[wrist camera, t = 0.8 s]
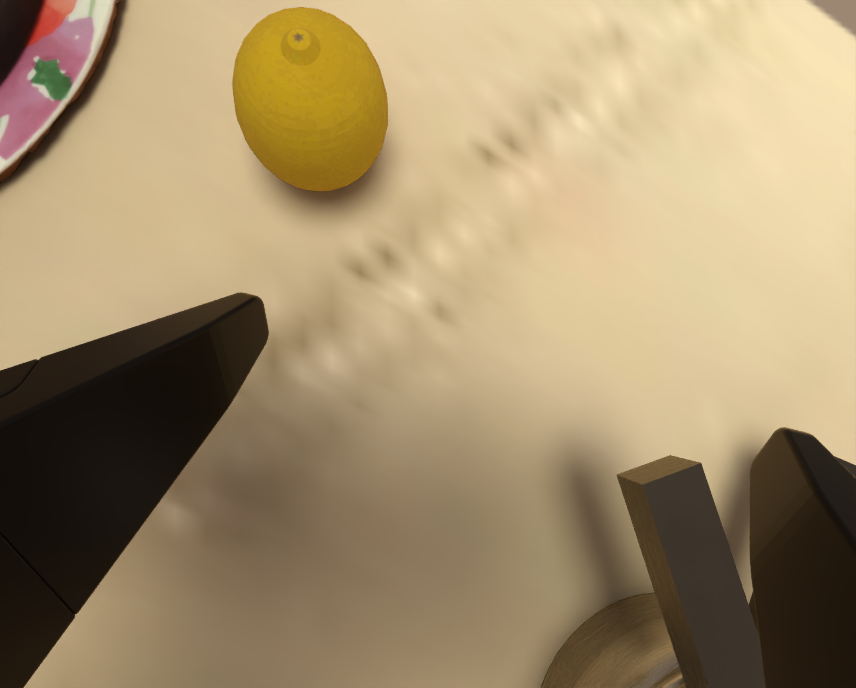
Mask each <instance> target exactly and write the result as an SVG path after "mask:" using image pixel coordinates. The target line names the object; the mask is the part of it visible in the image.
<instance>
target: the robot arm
mask: <svg viewBox="0 0 856 688" xmlns="http://www.w3.org/2000/svg"><path fill="white" fill-rule="evenodd" d="M268 335H269V330H268V324H267V319H266V314H265V309H264V304H263V301H262V300H261V298H259V297H258V296H255V295H251V294H247V293H236V294H233V295H230V296H227V297H224V298H221V299H218V300H215V301H212V302H209V303H206V304H203V305H199V306H196V307H193V308H190V309H187V310H184V311H181V312H178V313H175V314H172V315H169V316H166V317H163V318H160V319H157V320H154V321H151V322H148V323H145V324H142V325H139V326H136V327H132V328H129V329H126V330H123V331H120V332H117V333H114V334H111V335H108V336H105V337H102V338H99V339H96V340H93V341H90V342H87V343H84V344H81V345H78V346H75V347H72V348H68V349H65V350H62V351H59V352H56V353H53V354H50V355H47V356H44V357H41V358H40V359H39V360H37V359H35V360H31V361H28V362H25V363H22V364H19V365H16V366H13V367H10V368H7V369H4V370H1V371H0V688H24V686H25V685H26V683H27V682H28V681H29V679H30V678H31V677H32V675H33V674H34V673H35V671H36V670H37V668H38V667H39V666H40V664H41V663H42V662H43V660H44V659H45V658H46V656H47V655H48V653H49V652H50V651H51V649H52V648H53V647H54V645H55V644H56V643H57V641H58V640H59V638H60V637H61V636H62V634H63V633H64V632H65V630H66V629H67V628H68V626H69V625H70V623H71V622H72V621H73V619H74V618H75V614H77V613H78V612H79V611H80V609H81V608H82V607H83V605H84V604H85V603H86V601H87V600H88V598H89V597H90V596H91V594H92V593H93V592H94V590H95V589H96V588H97V586H98V585H99V583H100V582H101V581H102V579H103V578H104V577H105V575H106V574H107V573H108V571H109V570H110V568H111V567H112V566H113V564H114V563H115V562H116V560H117V559H118V558H119V556H120V555H121V553H122V552H123V551H124V549H125V548H126V547H127V545H128V544H129V543H130V541H131V540H132V538H133V537H134V536H135V534H136V533H137V532H138V530H139V529H140V528H141V526H142V525H143V523H144V522H145V521H146V519H147V518H148V517H149V515H150V514H151V512H152V511H153V510H154V508H155V507H156V506H157V504H158V503H159V502H160V500H161V499H162V497H163V496H164V495H165V493H166V492H167V491H168V489H169V488H170V487H171V485H172V484H173V482H174V481H175V480H176V478H177V477H178V476H179V474H180V473H181V472H182V470H183V469H184V467H185V466H186V465H187V463H188V462H189V461H190V459H191V458H192V457H193V455H194V454H195V452H196V451H197V450H198V448H199V447H200V446H201V444H202V443H203V442H204V440H205V439H206V437H207V436H208V435H209V433H210V432H211V431H212V429H213V428H214V427H215V425H216V424H217V422H218V421H219V420H220V418H221V417H222V416H223V414H224V413H225V411H226V410H227V409H228V407H229V406H230V404H231V403H232V401H233V399H234V398H235V396H236V395H237V393H238V391H239V389H240V388H241V386H242V384H243V382H244V381H245V379H246V377H247V376H248V374H249V372H250V370H251V369H252V367H253V365H254V363H255V362H256V360H257V358H258V357H259V355H260V353H261V351H262V350H263V348H264V346H265V344H266V342H267V340H268ZM750 567H751V578H752V586H753V594H754V602H755V610H756V618H757V626H758V634H759V642H760V650H761V658H762V665H763V673H764V681H765V688H856V478H855V477H854V476H853V475H852V474H851V473H850V472H849V471H848V470H847V469H846V468H845V467H844V466H843V465H842V464H841V463H840V462H839V461H838V460H837V459H836V458H835V457H834V456H833V455H832V454H831V453H830V452H829V451H828V450H827V449H826V448H825V447H824V446H823V445H822V444H821V443H820V442H819V441H818V440H817V439H816V438H815V437H814V436H813V435H811V434H809V433H806V432H802V431H798V430H794V429H790V428H785V427H784V428H779V429H777V430H776V431H775V432H774V433H773V434H772V436H771V437H770V438H769V440H768V441H767V443H766V444H765V445H764V447H763V448H762V449H761V451H760V452H759V454H758V455H757V456H756V458H755V459H754V461H753V463H752V466H751V470H750Z"/></svg>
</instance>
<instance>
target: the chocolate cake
mask: <svg viewBox="0 0 856 688" xmlns="http://www.w3.org/2000/svg"><path fill="white" fill-rule="evenodd" d="M119 1H120V0H0V183H1V182H2V181H4V180H5V179H7V178H8V177H10V176H11V175H12V174H13V173H14V171H15V170H16V168H17V166H18V165H19V163H20V161H21V160H22V158H23V157H24V156H25V155H26V154H27V153H28V152H29V151H32V152H34V151H35V149H36V148H37V147H38V145H39V144H40V142H41V140H42V139H43V137H44V136H45V135H46V134H48V133H49V131H50V128H51V126H52V124H53V123H54V121H55V120H56V119H57V118H58V117H59V116H60V115H61V114H62V113H63V112H64V110H65V109H66V107H67V106H68V105H69V104H70V103H72V102H73V101H74V100H76V99H77V98H78V97H79V95H80V94H81V92H82V90H83V88H84V87H85V85H86V84H87V82H88V80H89V79H90V77H91V76H92V74H93V72H94V71H95V69H96V68H97V66H98V64H99V62H100V59H101V57H102V54H103V52H104V49H105V47H106V45H107V43H108V40H109V38H110V35H111V32H112V28H113V20H114V19H115V17H116V15H117V8H116V3H118V2H119Z"/></svg>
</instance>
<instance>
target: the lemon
mask: <svg viewBox="0 0 856 688" xmlns="http://www.w3.org/2000/svg"><path fill="white" fill-rule="evenodd" d="M233 95H234V103H235V111H236V116H237V120H238V122H239V125H240V127H241V130H242V132H243V134H244V137H245V139H246V142H247V144H248V145H249V147H250V148H251V150H252V151H253V152H254V154H255V155H256V156H257V158H258V159H259V160H260V162H261V163H262V164H263V165H264V166H265V167H266V168H267V169H268V170H270V171H271V172H272V173H273V174H275V175H276V176H277V177H278V178H279V179H281V180H283V181H285V182H287V183H289V184H291V185H293V186H295V187H297V188H301V189H306V190H311V191H331V190H334V189H338V188H341V187H345V186H347V185H349V184H350V183H352V182H354V181H356V180H357V179H359V178H360V177H361V176H362V175H363V174H364V173H365V172H366V171H367V170H368V169H369V168H370V167H371V166H372V164H373V163H374V161H375V159H376V157H377V156H378V154H379V152H380V150H381V148H382V145H383V142H384V138H385V134H386V130H387V125H388V103H387V93H386V90H385V86H384V82H383V79H382V75H381V72H380V69H379V66H378V64H377V62H376V60H375V58H374V56H373V54H372V53H371V51H370V49H369V47H368V46H367V44H366V43H365V41H364V40H363V39H362V38H361V37H360V36H359V35H358V34H357V33H356V31H355V30H354V29H353V28H352V27H351V26H349V25H348V24H346V23H345V22H343V21H342V20H340V19H339V18H337V17H336V16H334V15H332V14H330V13H327V12H324V11H321V10H319V9H313V8H304V7H298V8H289V9H283V10H281V11H278V12H275V13H273V14H270V15H268V16H267V17H266V18H264V19H263V20H261V21H260V22H259V23H257V24H256V25H255V27H254V28H253V29H252V30H251V31H250V33H249V34H248V35H247V36H246V37H245V39H244V40H243V43H242V45H241V47H240V49H239V52H238V54H237V57H236V60H235V67H234V74H233Z"/></svg>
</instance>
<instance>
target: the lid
mask: <svg viewBox="0 0 856 688" xmlns="http://www.w3.org/2000/svg"><path fill="white" fill-rule="evenodd" d="M617 478H618V481H619V484H620V487H621V490H622V493H623V496H624V499H625V502H626V505H627V508H628V511H629V515H630V518H631V521H632V524H633V527H634V530H635V533H636V536H637V539H638V542H639V545H640V548H641V551H642V554H643V557H644V560H645V563H646V567H647V570H648V573H649V576H650V579H651V582H652V585H653V588H654V591H655V594H656V597H657V600H658V603H659V606H660V609H661V612H662V615H663V619H664V622H665V625H666V628H667V631H668V634H669V637H670V640H671V643H672V646H673V649H674V652H675V655H676V658H677V661H678V664H679V667H680V671H681V674H682V677H683V680H684V683H683V684H682V685H680V686H679V687H677V688H765V681H764V673H763V665H762V658H761V650H760V642H759V635H758V632H757V629H756V626H755V623H754V620H753V617H752V614H751V611H750V608H749V605H748V602H747V599H746V596H745V593H744V590H743V587H742V584H741V581H740V578H739V575H738V572H737V569H736V566H735V563H734V560H733V557H732V554H731V551H730V548H729V545H728V542H727V539H726V536H725V533H724V530H723V527H722V524H721V521H720V518H719V515H718V512H717V509H716V506H715V503H714V500H713V497H712V494H711V491H710V488H709V485H708V482H707V479H706V476H705V473H704V470H703V467H702V464H701V463H699V462H695V461H691V460H687V459H683V458H679V457H675V456H671V455H670V456H667V457H664V458H661V459H659V460H656V461H653V462H650V463H648V464H645V465H642V466H639V467H637V468H634V469H631V470H628V471H626V472H623V473H620V474H617Z"/></svg>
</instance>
